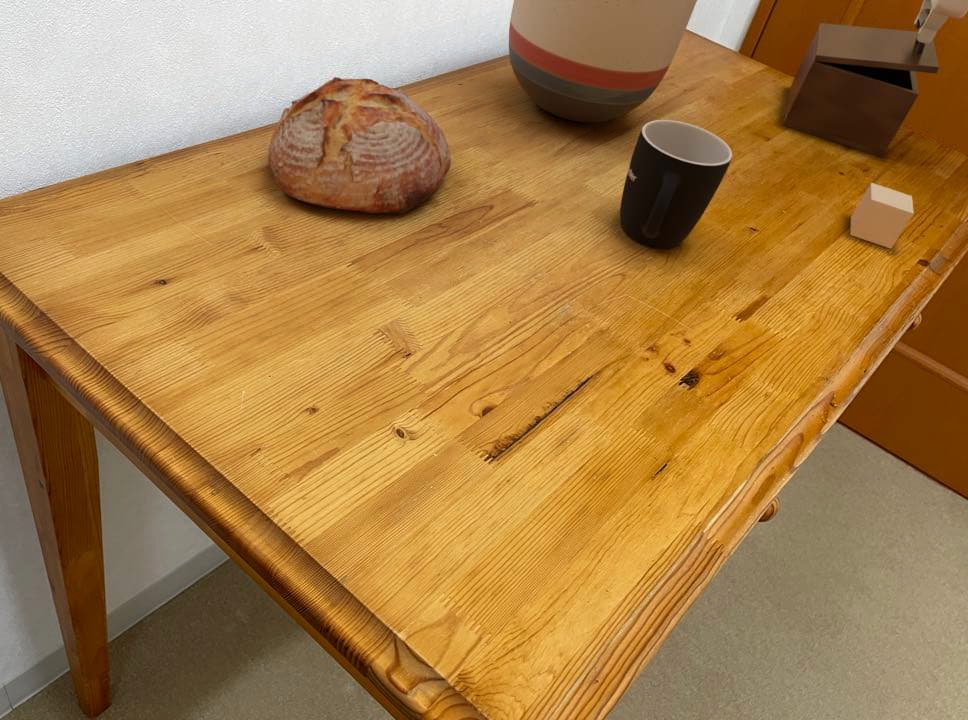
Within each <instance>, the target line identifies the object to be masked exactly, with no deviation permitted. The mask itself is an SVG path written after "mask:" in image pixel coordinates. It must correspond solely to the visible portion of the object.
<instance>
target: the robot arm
mask: <svg viewBox="0 0 968 720" xmlns="http://www.w3.org/2000/svg"><path fill="white" fill-rule="evenodd" d="M925 9H931V10H930V13H929V15H928V17H927V19H926V21H925V22H924V24H922V26H921V28H920V23H919V14H920V13H921V12H922V11H923V10H925ZM967 13H968V0H923V2H922V4H921V7H920V9H919V12H918V14H917V16H916V18H915V19H914V23H913V25H914V27H915V29H917V30H918V31H917V32H918V34H917V40H918V41H919V42H922V43H925V44H929V43H931V42H932V40H933V41H934V38H935V37H936V35H937V33H938V31H939V30H940V29H941V28H942V26H943V25H944V24H945V23H946V22H947V21H948V19H949V18H954V19H962V18H963V17H964V16H965V15H966V14H967ZM919 29H920V30H919Z"/></svg>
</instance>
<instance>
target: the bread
mask: <svg viewBox="0 0 968 720" xmlns="http://www.w3.org/2000/svg"><path fill="white" fill-rule="evenodd" d="M446 138H447V137H446V136H445V134H444V132H443V130H442V128H441V127H440V126H439V124H438V123H437V121H436V120H435V119H434V118H433V116H432V115H430V114H429V113H428V112H427V111H426V110H425V109H423V108H422V107H421V106H420V105H419V104H417V102H415V101H413V100H412V99H411V98H410V97H409V95H407V94H406V92H405V91H404V90H402V89H401V88H394V87H393V88H392V87H389V86H386V85H384V84H379V82H377V81H375V80H373V79H372V78H348V77H347V78H341V77H337V76H334V77H333V78H332V79H329V80H328V81H326V82H324V83H323V85H320V86H319V87H318V88H316V89H314V90H313V91H311V92H307V93H306V94H304V95H302V96H301V97H300V98H297V99H295V100H292V101H291V106H289V107H288V108H287V107H286V108H285V109H283V111H282V113H281V115H280V118H279V120H278V122H277V123H276V125H275V129H274V131H273V132H272V136H271V138H270V142H269V143H270V144H269V147H268V151H267V152H268V155H267V163H268V166H269V168H270V171H271V173H272V175H273V180H274V181H275V183H276V185H277V187H278V188H279V189H280V190H281V191H282V192H283V193H284V194H287V195H288V196H290V197H292V198H294V199H296V200H298V201H301V202H303V203H307V204H310V205H313V206H318V207H322V208H328V209H334V210H341V211H342V210H343V211H352V212H363V213H366V214H394V215H396V214H397V215H402V214H406V213H407V212H408V211H410V210H411V209H413V208H415V207H417V206H419V205H421V204H422V203H423V202H424V201H426V200H427V199H429V198H430V197H431V196H432V195H433V194H434V193H435V191H436V190H437V189H438V188H439V186H440V185H441V183H442V182H443V180H444V177H445V176H446V175H447V174H448V172H449V171H450V168H451V164H452V158H451V153H450V148H449V144H448V141H447V139H446Z"/></svg>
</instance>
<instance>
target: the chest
mask: <svg viewBox="0 0 968 720" xmlns="http://www.w3.org/2000/svg"><path fill="white" fill-rule="evenodd" d="M818 30H819V29H817V30H816V32H815V34H814V36H813V39H812V41H811V43H810V45H809V47H808V48H807V51H806V53H805V56H804V57H803V59H802V61H801V63H800V66H799V68H798V70H797V72H796V74H795V76H794V77H793V78H794V79H793V80H792V81H791V82H792V83H791V85H790V87H789V90H788V95H787V101H786V105H785V111H784V115H783V122H782V126H783V127H787V128H790V129H793V130H796V131H799V132H802V133H805V134H808V135H810V136H814V137H818V138H821V139H824V140H826V141H830V142H833V143H835V144H839V145H842V146H845V147H848V148H851V149H854V150H857V151H860V152H863V153H866V154H870V155H872V156H876V157H880V158H883V157H884V155H885V154H886V152H887V150H888V148H889V147H890V145H891V143H892V142H893V140H894V138H895V136H896V135H897V134H898V131H899V129H900V127H902V125H903V123H904V121H905V119H906V118H907V116H908V114H909V113H910V111H911V110H912V107H913V106H914V104H915V103H916V100H917V99H918V97H919V95H920V93H919V86H918V80H917V74H916V73H917V72H916V71H906V70H896V69H886V68H877V67H867V66H857V65H847V64H837V63H827V62H818V61H815V53H816V46H817V38H818Z"/></svg>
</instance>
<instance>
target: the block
mask: <svg viewBox="0 0 968 720" xmlns="http://www.w3.org/2000/svg"><path fill="white" fill-rule="evenodd" d="M914 211H915V210H914V203H913V196H912V195H910V194H906V193H904V192H901V191H899V190H895V189H893V188H889V187H886V186H883V185H880V184H877V183H873V182H870V184H869V186H868V187H867V189H866V190H865V192H864V194H863V196H862V197H861V199H860V201H859V203H858V204H857V206H856V207H855V209H854V211H853V213H852V215H851V216H850V231H849V233H850V236H853V237H855V238H858V239H861V240H864V241H867V242H870V243H872V244H876V245H878V246H882V247H884V248H887V249H892V248H893V247H894V245H895V244H896V242H897V240H898V239H899V237H900V236H901V235H902V233H903V231H904V229H905V228H906V226H907V225H908V223H909V222H910V221H911V219H912V217H913V216H914V214H915V212H914Z"/></svg>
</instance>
